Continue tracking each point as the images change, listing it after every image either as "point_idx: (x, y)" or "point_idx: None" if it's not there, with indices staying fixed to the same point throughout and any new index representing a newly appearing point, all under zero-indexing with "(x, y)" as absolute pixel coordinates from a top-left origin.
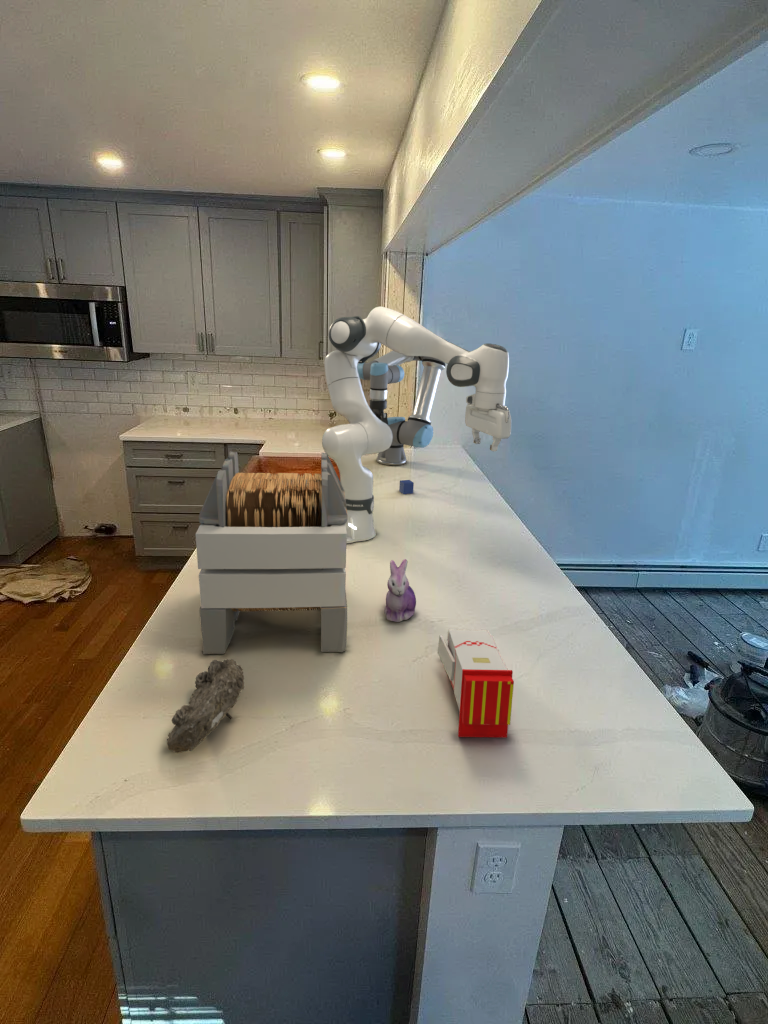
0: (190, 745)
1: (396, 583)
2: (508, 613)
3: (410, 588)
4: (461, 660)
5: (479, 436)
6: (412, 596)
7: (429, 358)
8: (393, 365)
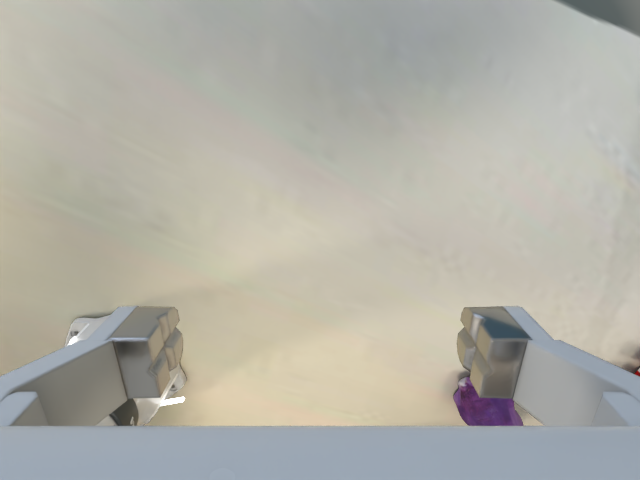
0: None
1: None
2: (583, 229)
3: (503, 411)
4: None
5: (95, 349)
6: (512, 405)
7: None
8: None
